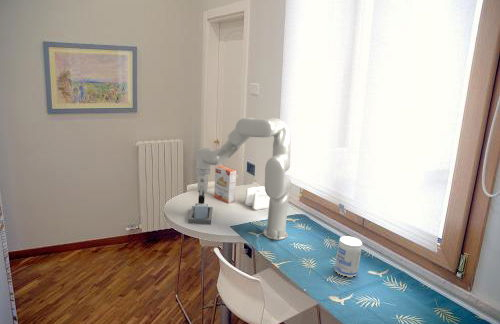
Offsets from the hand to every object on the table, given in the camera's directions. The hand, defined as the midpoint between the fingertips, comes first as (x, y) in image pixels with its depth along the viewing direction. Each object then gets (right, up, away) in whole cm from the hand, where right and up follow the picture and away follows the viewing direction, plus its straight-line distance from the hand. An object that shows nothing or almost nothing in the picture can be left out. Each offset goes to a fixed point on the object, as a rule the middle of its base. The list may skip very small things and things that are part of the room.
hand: (201, 203), depth 204 cm
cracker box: (+10, -2, +33) cm, 34 cm away
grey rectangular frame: (0, -8, +2) cm, 8 cm away
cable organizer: (+33, -5, +25) cm, 41 cm away
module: (0, -8, +2) cm, 8 cm away
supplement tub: (+68, -25, -46) cm, 85 cm away
